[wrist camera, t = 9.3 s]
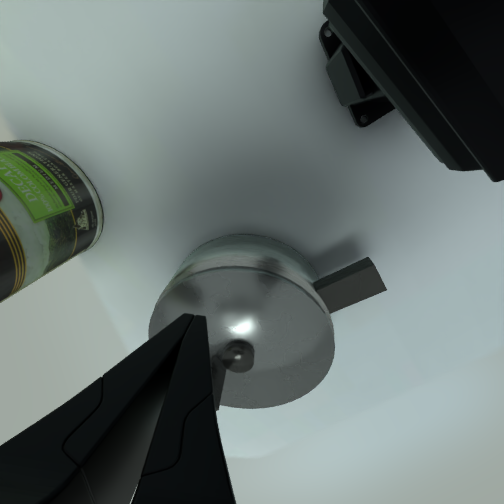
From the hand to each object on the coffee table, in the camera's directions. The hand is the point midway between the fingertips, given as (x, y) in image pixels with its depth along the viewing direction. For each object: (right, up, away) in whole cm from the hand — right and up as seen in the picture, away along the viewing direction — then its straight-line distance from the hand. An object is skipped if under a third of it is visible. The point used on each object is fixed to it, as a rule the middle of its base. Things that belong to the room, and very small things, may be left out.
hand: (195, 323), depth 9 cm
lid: (-1, -6, +12) cm, 13 cm away
